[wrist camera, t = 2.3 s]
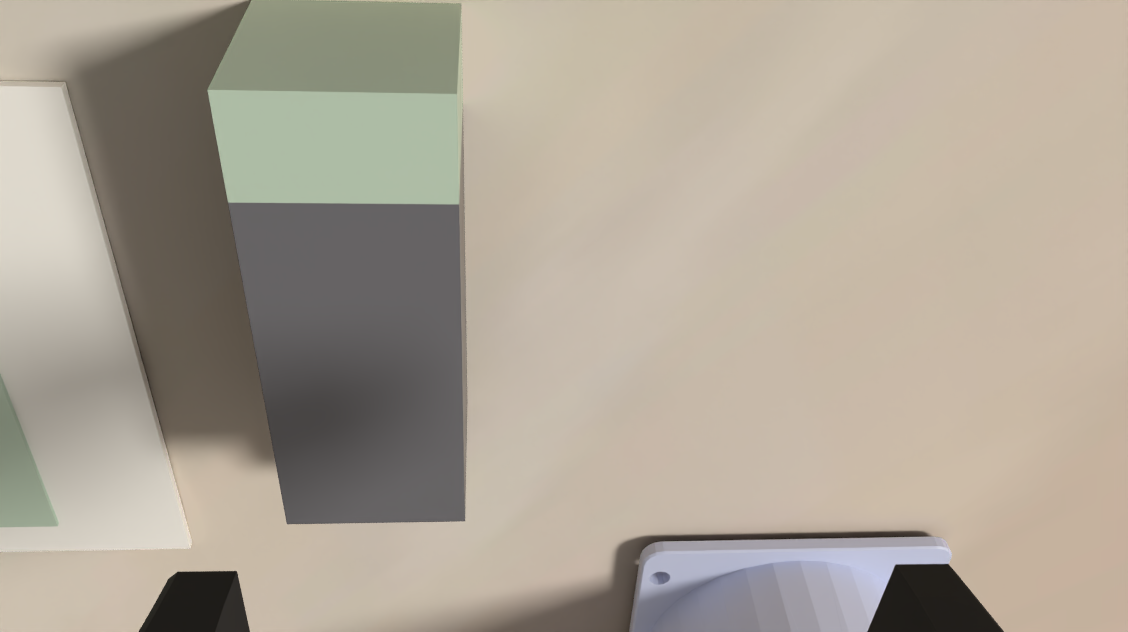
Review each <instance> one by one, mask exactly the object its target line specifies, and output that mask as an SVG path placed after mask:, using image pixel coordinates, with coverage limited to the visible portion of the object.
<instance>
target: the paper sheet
mask: <svg viewBox="0 0 1128 632" xmlns="http://www.w3.org/2000/svg"><path fill="white" fill-rule="evenodd" d="M191 544H192V540H191V536H190V533H189V529H188V525H187V522H186V518H185V515H184V511H183V507H182V504H181V500H180V496H179V493H178V489H177V485H176V482H175V478H174V475H173V471H172V467H171V464H170V460H169V456H168V453H167V449H166V446H165V442H164V438H163V435H162V431H161V427H160V424H159V420H158V417H157V413H156V409H155V406H154V402H153V398H152V395H151V391H150V388H149V384H148V380H147V377H146V373H145V369H144V366H143V362H142V358H141V355H140V351H139V348H138V344H137V340H136V337H135V333H134V329H133V326H132V322H131V319H130V315H129V311H128V308H127V304H126V300H125V297H124V293H123V290H122V286H121V282H120V279H119V275H118V271H117V268H116V264H115V260H114V257H113V253H112V250H111V246H110V242H109V239H108V235H107V231H106V228H105V224H104V221H103V217H102V213H101V210H100V206H99V202H98V199H97V195H96V192H95V188H94V184H93V181H92V177H91V173H90V170H89V166H88V163H87V159H86V155H85V152H84V148H83V144H82V141H81V137H80V133H79V130H78V126H77V123H76V119H75V115H74V112H73V108H72V104H71V101H70V97H69V94H68V90H67V86H66V83H65V82H41V81H0V552H27V551H82V550H138V549H190V547H191Z"/></svg>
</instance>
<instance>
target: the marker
mask: <svg viewBox="0 0 1128 632" xmlns="http://www.w3.org/2000/svg"><path fill="white" fill-rule="evenodd" d="M207 91H208V96H209V102H210V107H211V113H212V118H213V123H214V129H215V134H216V140H217V145H218V151H219V156H220V162H221V167H222V173H223V178H224V183H225V189H226V194H227V200H228V205H229V211H230V216H231V222H232V227H233V233H234V238H235V243H236V249H237V254H238V260H239V265H240V271H241V276H242V282H243V287H244V293H245V298H246V303H247V309H248V314H249V320H250V325H251V331H252V336H253V342H254V347H255V352H256V358H257V363H258V369H259V374H260V380H261V385H262V391H263V396H264V402H265V407H266V412H267V418H268V423H269V429H270V434H271V440H272V445H273V451H274V456H275V462H276V467H277V472H278V478H279V483H280V489H281V494H282V500H283V505H284V511H285V516H286V522H287V524H328V523H388V522H449V521H465V498H466V445H467V347H466V280H465V213H464V145H463V78H462V11H461V4H451V3H409V2H367V1H325V0H251V2H250V4H249V6H248V8H247V10H246V12H245V14H244V16H243V18H242V20H241V22H240V24H239V26H238V28H237V30H236V33H235V35H234V37H233V39H232V41H231V43H230V45H229V47H228V49H227V51H226V53H225V55H224V57H223V59H222V61H221V63H220V65H219V67H218V69H217V71H216V73H215V75H214V77H213V79H212V81H211V83H210V85H209V87H208V89H207Z"/></svg>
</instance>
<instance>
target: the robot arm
mask: <svg viewBox="0 0 1128 632" xmlns="http://www.w3.org/2000/svg"><path fill="white" fill-rule="evenodd" d="M951 556H952V553H951V551H950V549H949V546H948V544H947V542H946V541H945V540H944V539H942V538H940V537H878V538H822V539H767V540H712V541H661V542H655V543H652V544H650V545H648V546H647V547H646V548H644V549H643V550H642V553H641V555H640V561H639V568H638V575H637V582H636V588H635V595H634V602H633V609H632V615H631V622H630V629H629V632H1004V631H1003V630H1002V629H1001V628H1000V626H999V625H998V624H997V623H996V621H995V620H994V619H993V618H992V616H991V615H990V614H989V613H988V612H987V610H986V609H985V608H984V607H983V605H982V604H981V603H980V602H979V600H978V599H977V598H976V597H975V596H974V594H973V593H972V592H971V591H970V589H969V588H968V587H967V586H966V585H965V583H964V582H963V581H962V580H961V578H960V577H959V576H958V575H957V574H956V572H955V571H954V570H953V569H952V568H951V567H950V566H949V562H950V560H951ZM139 632H250V630H249V626H248V621H247V616H246V612H245V607H244V602H243V598H242V593H241V588H240V584H239V579H238V574H237V571H209V572H177V573H176V574H174V575H173V576H172V577H170V578H169V579H168V581H167V583H166V584H165V586H164V588H163V590H162V592H161V594H160V595H159V597H158V599H157V601H156V603H155V604H154V606H153V608H152V610H151V611H150V613H149V615H148V617H147V618H146V620H145V622H144V623H143V625H142V627H141V629H140V630H139Z"/></svg>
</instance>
